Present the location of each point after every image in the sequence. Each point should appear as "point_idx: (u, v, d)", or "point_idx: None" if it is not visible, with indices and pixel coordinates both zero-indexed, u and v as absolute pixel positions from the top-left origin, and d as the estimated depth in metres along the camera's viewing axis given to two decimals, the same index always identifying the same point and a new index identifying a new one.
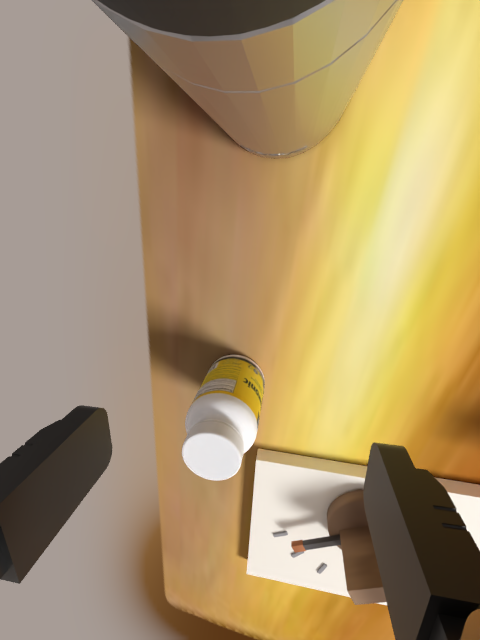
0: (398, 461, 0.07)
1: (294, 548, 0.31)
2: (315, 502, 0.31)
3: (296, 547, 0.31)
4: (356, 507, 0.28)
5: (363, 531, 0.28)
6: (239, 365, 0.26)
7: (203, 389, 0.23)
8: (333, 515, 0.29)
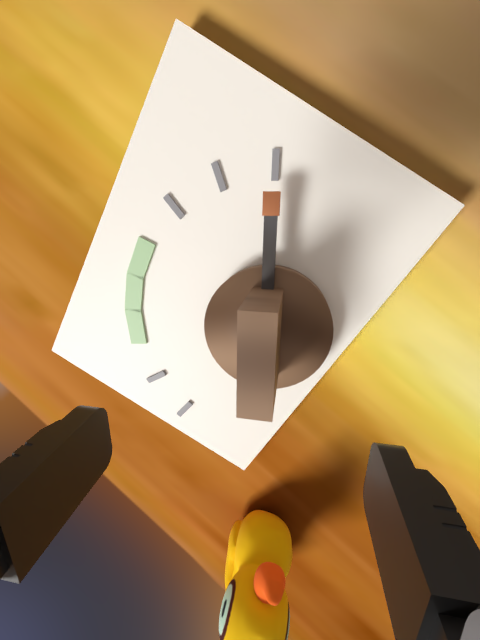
0: (398, 461, 0.07)
1: (274, 195, 0.16)
2: (325, 263, 0.18)
3: (275, 201, 0.16)
4: (322, 333, 0.18)
5: None
6: None
7: None
8: (318, 293, 0.18)
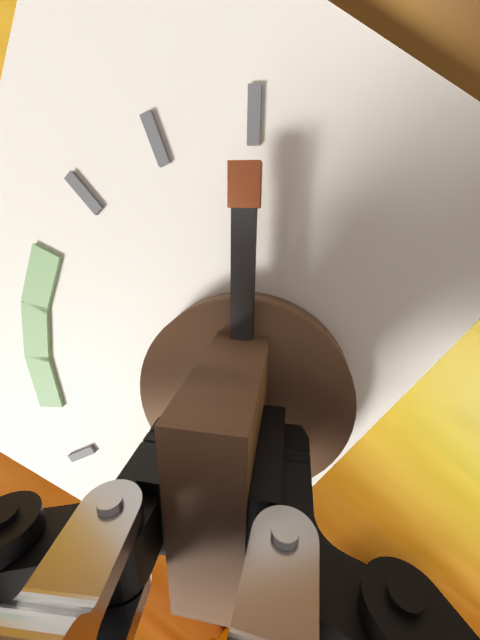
0: (274, 417, 0.09)
1: (249, 169, 0.08)
2: (342, 291, 0.11)
3: (252, 179, 0.08)
4: (337, 411, 0.11)
5: (265, 402, 0.10)
6: None
7: None
8: (330, 347, 0.10)
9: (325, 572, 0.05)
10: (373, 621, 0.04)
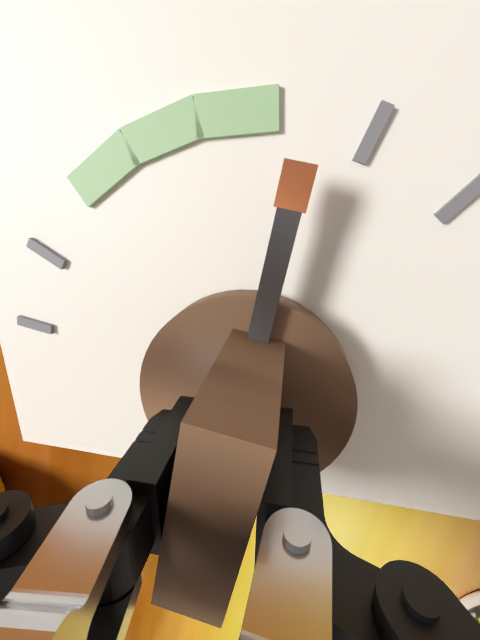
0: (281, 418, 0.09)
1: (305, 171, 0.08)
2: (379, 418, 0.12)
3: (306, 183, 0.08)
4: (335, 425, 0.11)
5: None
6: None
7: None
8: (343, 363, 0.10)
9: (338, 576, 0.05)
10: (388, 624, 0.04)
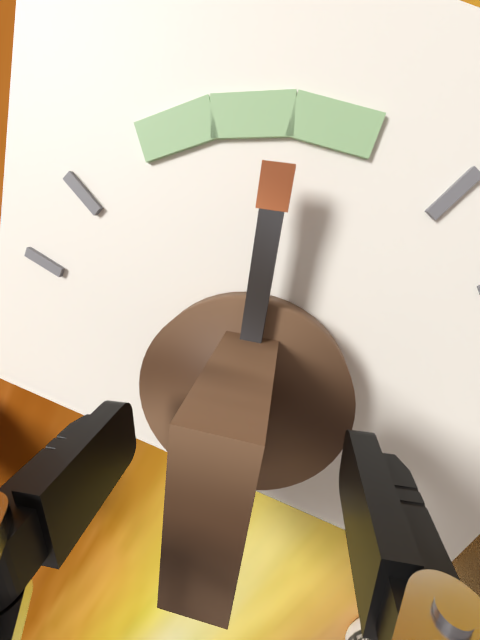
0: (367, 445, 0.08)
1: (283, 171, 0.08)
2: None
3: (284, 183, 0.08)
4: (335, 421, 0.11)
5: None
6: None
7: None
8: (337, 358, 0.10)
9: None
10: None
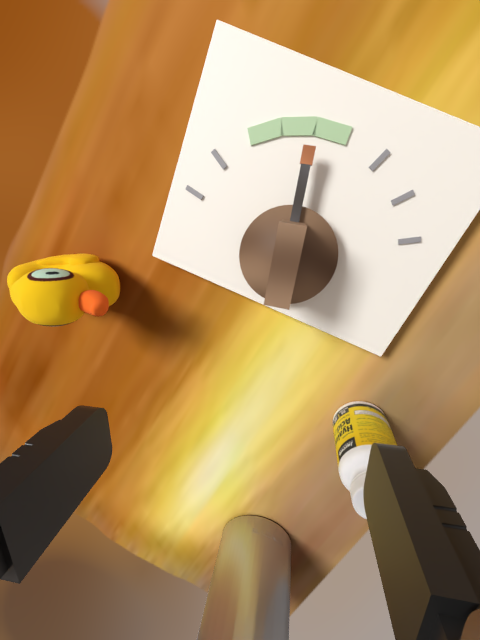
0: (398, 461, 0.07)
1: (311, 149, 0.22)
2: (339, 287, 0.26)
3: (311, 153, 0.22)
4: (329, 262, 0.24)
5: None
6: None
7: None
8: (330, 230, 0.24)
9: None
10: None
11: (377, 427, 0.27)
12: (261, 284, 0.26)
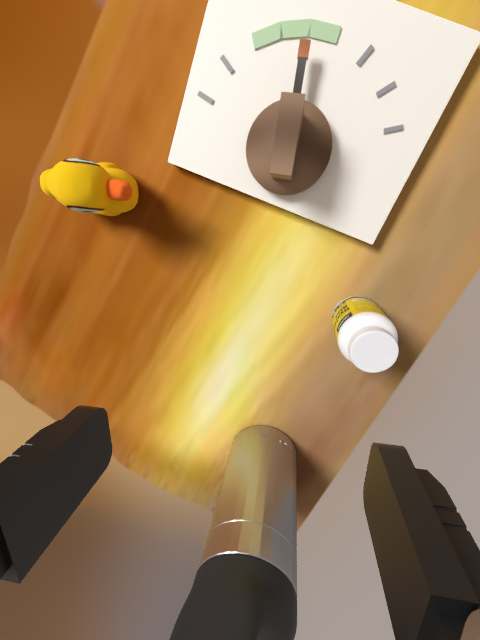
0: (398, 461, 0.07)
1: (306, 42, 0.25)
2: (334, 179, 0.30)
3: (307, 46, 0.25)
4: (324, 150, 0.28)
5: (298, 141, 0.28)
6: None
7: None
8: (325, 120, 0.27)
9: None
10: None
11: (371, 305, 0.31)
12: (265, 177, 0.30)
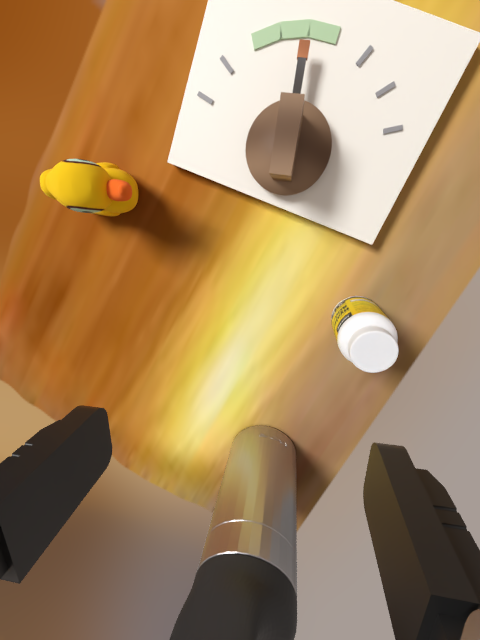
0: (398, 461, 0.07)
1: (306, 43, 0.25)
2: (334, 179, 0.30)
3: (306, 47, 0.26)
4: (324, 150, 0.28)
5: (298, 141, 0.28)
6: None
7: None
8: (324, 120, 0.27)
9: None
10: None
11: (370, 305, 0.31)
12: (265, 177, 0.30)
